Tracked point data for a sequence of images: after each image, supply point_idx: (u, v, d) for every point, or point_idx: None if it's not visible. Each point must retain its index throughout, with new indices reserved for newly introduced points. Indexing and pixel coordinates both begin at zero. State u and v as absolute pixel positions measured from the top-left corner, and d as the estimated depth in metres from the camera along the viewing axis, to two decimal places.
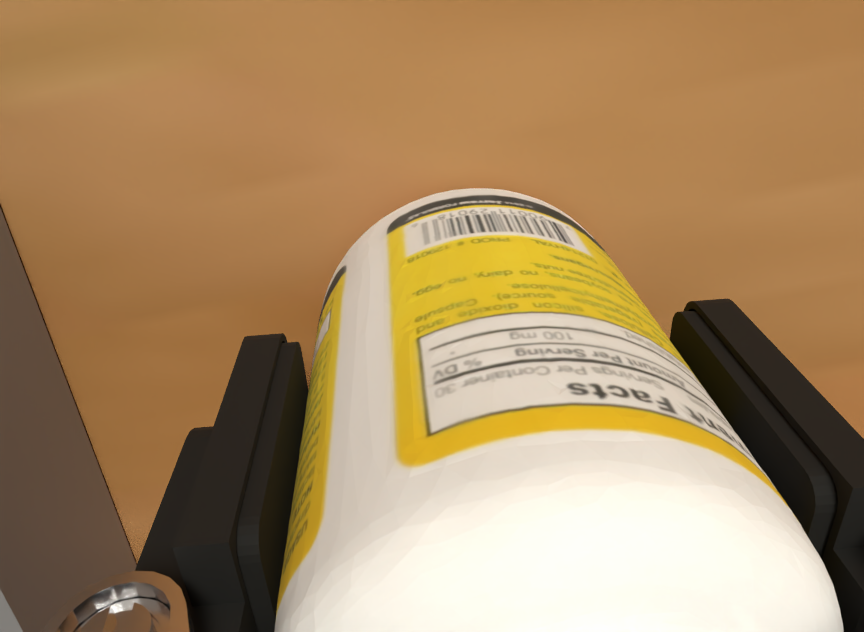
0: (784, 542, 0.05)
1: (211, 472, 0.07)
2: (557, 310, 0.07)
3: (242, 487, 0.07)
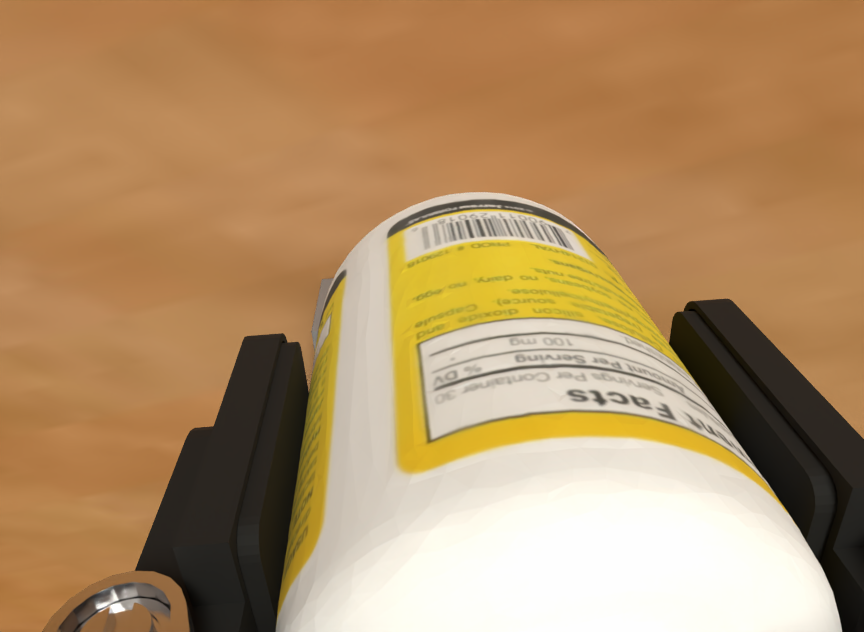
0: (783, 549, 0.05)
1: (211, 472, 0.07)
2: (556, 316, 0.07)
3: (243, 486, 0.07)
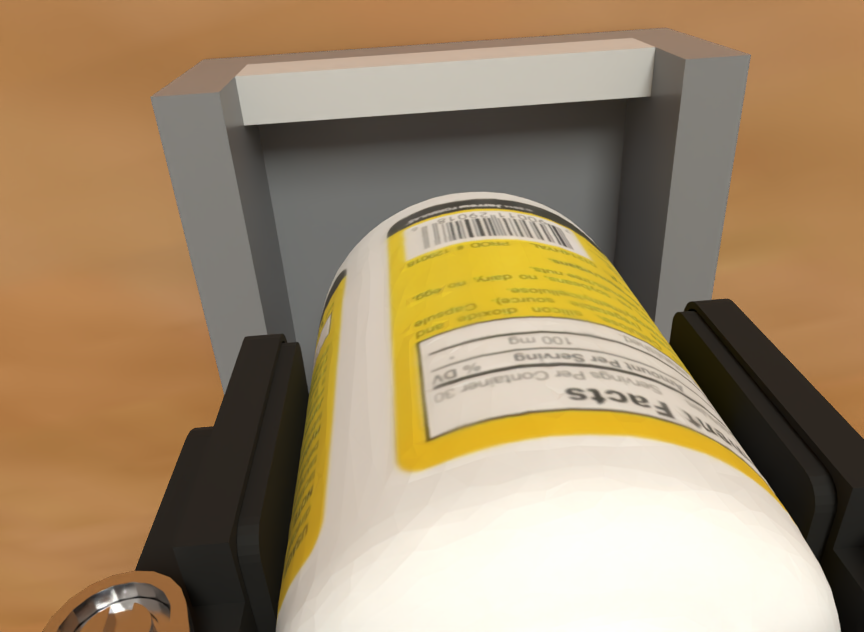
0: (781, 547, 0.05)
1: (211, 472, 0.07)
2: (555, 315, 0.07)
3: (242, 487, 0.07)
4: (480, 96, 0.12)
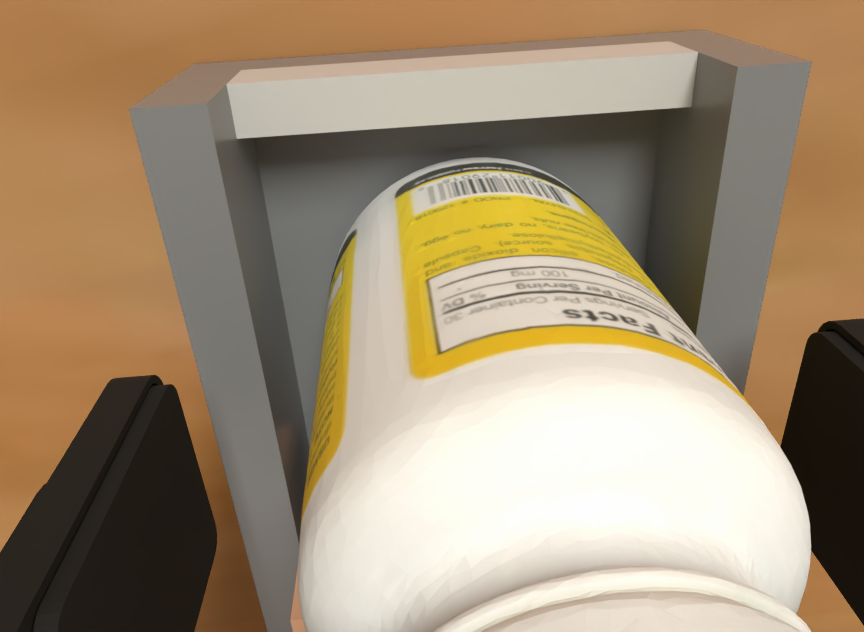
0: (754, 440, 0.06)
1: (22, 547, 0.06)
2: (554, 254, 0.08)
3: (52, 566, 0.06)
4: (501, 106, 0.10)
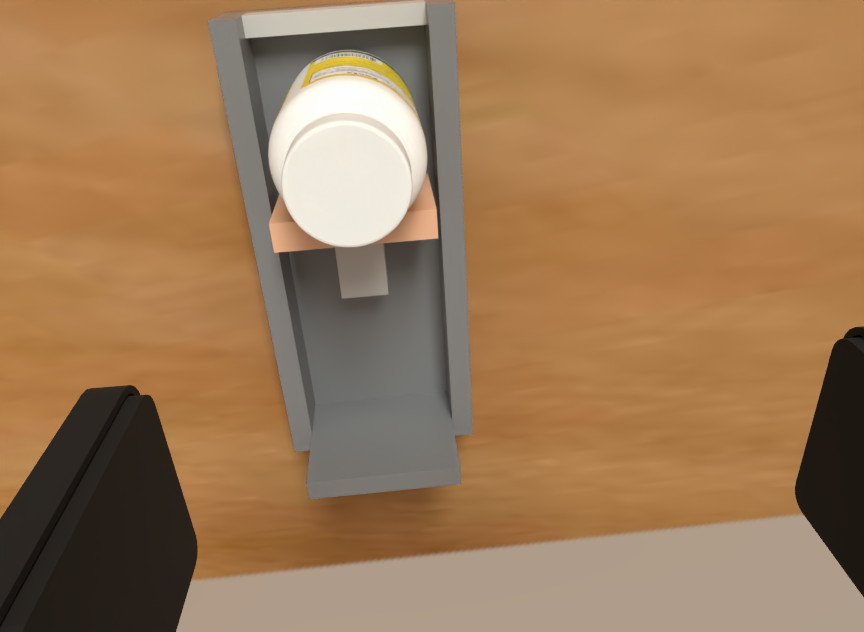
0: (394, 99, 0.22)
1: None
2: (354, 66, 0.24)
3: (12, 586, 0.06)
4: (350, 24, 0.26)
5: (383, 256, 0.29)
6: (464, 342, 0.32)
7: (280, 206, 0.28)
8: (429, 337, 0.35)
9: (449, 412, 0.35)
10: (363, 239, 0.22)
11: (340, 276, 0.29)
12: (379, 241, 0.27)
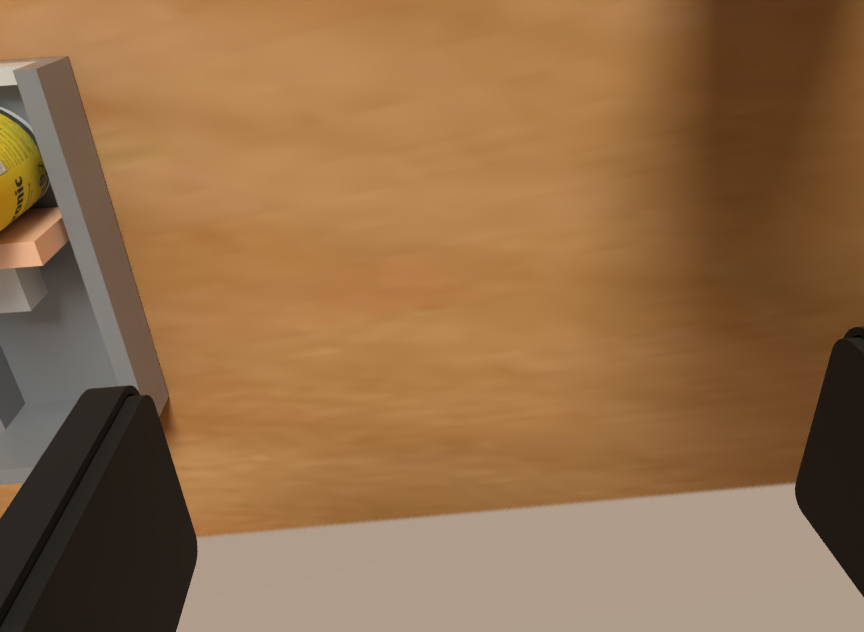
0: None
1: None
2: None
3: (13, 586, 0.06)
4: None
5: (17, 278, 0.33)
6: (122, 352, 0.37)
7: None
8: None
9: None
10: None
11: None
12: None
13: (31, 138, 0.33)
